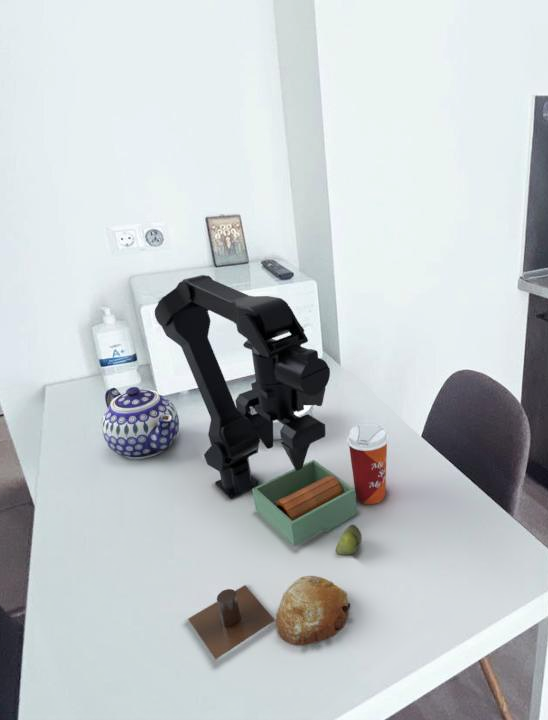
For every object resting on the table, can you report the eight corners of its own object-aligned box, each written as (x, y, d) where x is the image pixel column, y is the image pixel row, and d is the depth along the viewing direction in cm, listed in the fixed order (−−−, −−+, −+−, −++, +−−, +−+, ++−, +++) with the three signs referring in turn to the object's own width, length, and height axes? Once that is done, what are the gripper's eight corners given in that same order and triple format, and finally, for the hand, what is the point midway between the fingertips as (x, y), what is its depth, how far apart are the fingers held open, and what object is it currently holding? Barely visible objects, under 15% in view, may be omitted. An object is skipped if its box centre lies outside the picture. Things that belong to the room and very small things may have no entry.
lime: (336, 563, 89) (334, 539, 87) (335, 542, 93) (332, 519, 91) (364, 559, 90) (362, 535, 88) (360, 538, 94) (359, 515, 92)
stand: (188, 623, 78) (181, 595, 76) (246, 589, 84) (241, 562, 82) (216, 665, 72) (209, 635, 70) (276, 625, 78) (271, 596, 76)
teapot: (86, 443, 123) (68, 384, 117) (150, 416, 134) (136, 361, 128) (143, 484, 109) (126, 419, 103) (209, 450, 120) (197, 390, 114)
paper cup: (384, 510, 101) (382, 446, 95) (345, 505, 102) (340, 441, 96) (394, 485, 108) (393, 423, 102) (357, 480, 109) (353, 419, 103)
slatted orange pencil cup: (295, 529, 92) (347, 500, 99) (283, 500, 93) (335, 473, 100) (283, 530, 97) (334, 502, 104) (271, 502, 97) (323, 476, 104)
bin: (256, 513, 100) (252, 488, 98) (316, 483, 109) (313, 459, 106) (294, 550, 92) (291, 524, 89) (356, 514, 100) (355, 489, 98)
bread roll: (297, 610, 85) (269, 577, 81) (356, 585, 83) (330, 550, 80) (289, 669, 76) (257, 634, 72) (355, 641, 74) (325, 605, 71)
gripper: (349, 379, 87) (354, 461, 93) (285, 347, 99) (293, 421, 105) (289, 403, 79) (299, 490, 86) (228, 365, 92) (241, 444, 98)
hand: (284, 458), depth 94 cm, fingers open, 9 cm apart
